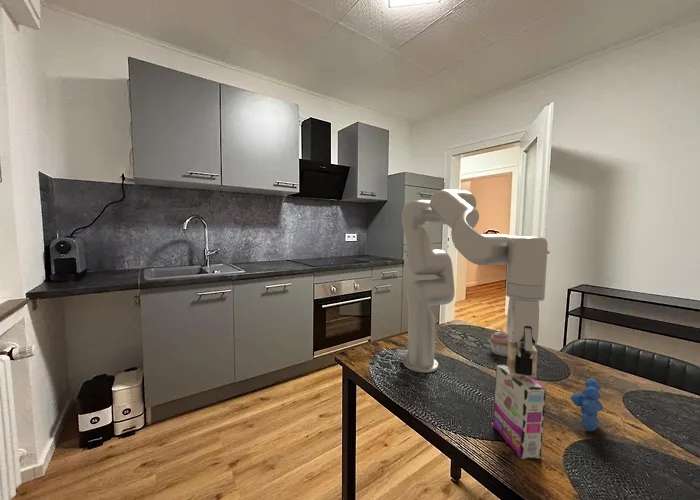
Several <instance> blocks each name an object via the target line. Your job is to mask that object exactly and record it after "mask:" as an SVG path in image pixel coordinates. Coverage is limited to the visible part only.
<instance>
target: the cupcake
mask: <svg viewBox="0 0 700 500" xmlns="http://www.w3.org/2000/svg"><path fill="white" fill-rule="evenodd" d="M508 340H510V338H509V336H508V333H507V331H505V330H503V329H500V330H499V331H496V332H494V333H493V334H491V335H490V338H489V340H488V342H489V343H490V347H491V351H492V354H494V355H496V356H498V355H499V357H504V358H505V357H507V353H508Z"/></svg>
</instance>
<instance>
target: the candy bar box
mask: <svg viewBox="0 0 700 500" xmlns="http://www.w3.org/2000/svg"><path fill="white" fill-rule="evenodd" d="M495 373H496V374H495V389H494V390H495V391H494V408H493V423H492V426H493V428H494V429H495V430H496V431H497V432H498V434H499V435H500V436H501V437H502V439H503V440H504V441H505V442H506V443H507V445H508V446H509V447H510V448H511V449H512V450H513V451H514V452H515V454H516V455H517V456H518V457H519V458H520V460H540V459H541V458H542V449H543V432H544V419H545V405H546V404H545V403H546V391H547V388H546V387H545V386H544V385H542V384H541V383H539V382H538V380H537V381H535V380H534V379H532V378H531V377H528V376H522V375H516V374H510V371H509V369H508V366H507V364H503V365H502V364H498V365H497V364H496V370H495Z"/></svg>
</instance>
